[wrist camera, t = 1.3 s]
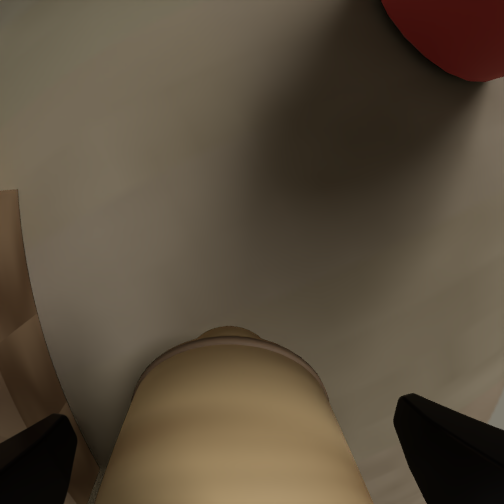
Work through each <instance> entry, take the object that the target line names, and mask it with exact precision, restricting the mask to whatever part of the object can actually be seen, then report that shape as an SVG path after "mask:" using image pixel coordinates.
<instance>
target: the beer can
mask: <svg viewBox="0 0 504 504" xmlns="http://www.w3.org/2000/svg"><path fill="white" fill-rule="evenodd" d="M381 2H382V4H383V6H384V8H385V10H386V12H387V14H388V16H389V17H390V19H391V20H392V21H393V23H394V24H395V25H396V27H397V28H398V29H399V31H400V32H401V33H402V35H403V36H404V37H405V38H406V39H407V40H408V41H409V42H410V43H411V44H412V45H413V46H414V47H415V48H416V49H417V50H418V51H419V52H420V53H421V54H422V55H423V56H424V57H426V58H427V59H429V60H430V61H431V62H433V63H434V64H436V65H437V66H439V67H440V68H441V69H443V70H444V71H446V72H447V73H450V74H452V75H455V76H457V77H459V78H462V79H464V80H467V81H478V82H486V81H490V80H493V79H496V78H500V77H503V76H504V0H381Z"/></svg>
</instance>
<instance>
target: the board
mask: <svg viewBox="0 0 504 504" xmlns="http://www.w3.org/2000/svg"><path fill="white" fill-rule="evenodd" d="M53 413H58V414H64V415H66V416H67V417H68V418H69V420H70V422H71V424H72V427H73V429H74V431H75V433H76V435H77V439H78V443H77V448H76V453H75V458H74V463H73V469H72V474H71V480H70V484H69V488H68V492H67V495H66V499H65V502H64V504H87V503H88V500H89V497H90V495H91V492H92V489H93V486H94V484H95V481H96V478H97V475H98V473H99V470H100V468H99V466H98V465H97V463H96V461H95V459H94V457H93V455H92V454H91V452H90V450H89V448H88V446H87V444H86V442H85V440H84V438H83V436H82V434H81V432H80V430H79V428H78V425H77V423H76V421H75V419H74V417H73V414H72V412H71V410H70V408H69V405H68V403H67V400H66V398H65V396H64V393H63V391H62V388H61V386H60V383H59V380H58V378H57V375H56V372H55V369H54V367H53V364H52V361H51V358H50V355H49V352H48V349H47V345H46V342H45V339H44V336H43V332H42V329H41V325H40V322H39V318H38V314H37V310H36V306H35V302H34V298H33V294H32V289H31V284H30V280H29V275H28V269H27V264H26V258H25V252H24V246H23V239H22V231H21V223H20V213H19V202H18V189H17V190H5V191H0V443H2V442H3V441H5V440H7V439H9V438H11V437H12V436H14V435H16V434H18V433H19V432H21V431H23V430H25V429H26V428H28V427H30V426H32V425H33V424H35V423H37V422H39V421H40V420H42V419H44V418H46V417H47V416H49V415H51V414H53Z"/></svg>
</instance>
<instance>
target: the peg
mask: <svg viewBox="0 0 504 504" xmlns="http://www.w3.org/2000/svg"><path fill="white" fill-rule="evenodd" d="M94 504H373V501H372V499H371V497H370V494H369V492H368V490H367V488H366V485H365V483H364V481H363V478H362V476H361V474H360V472H359V469H358V467H357V465H356V462H355V460H354V458H353V456H352V453H351V451H350V449H349V447H348V444H347V442H346V440H345V438H344V435H343V433H342V431H341V428H340V426H339V424H338V422H337V419H336V417H335V415H334V413H333V410H332V408H331V406H330V404H329V398H328V395H327V393H326V390H325V387H324V385H323V383H322V381H321V380H320V378H319V376H318V374H317V373H316V372H315V371H314V369H313V368H312V367H311V366H310V365H309V364H308V363H307V362H306V361H304V360H303V359H302V358H301V357H299V356H298V355H296V354H295V353H293V352H292V351H290V350H288V349H286V348H284V347H282V346H280V345H278V344H276V343H273V342H270V341H267V340H264V339H261V338H260V337H259V336H258V335H256V334H255V333H253V332H251V331H249V330H247V329H244V328H240V327H234V326H224V327H218V328H214V329H211V330H209V331H207V332H205V333H204V334H202V335H201V336H200V337H198V338H197V339H194V340H191V341H188V342H185V343H182V344H180V345H178V346H176V347H174V348H172V349H170V350H168V351H166V352H165V353H164V354H162V355H161V356H159V357H158V358H156V359H155V360H154V361H153V362H152V363H151V364H150V365H149V366H148V367H147V368H146V370H145V371H144V372H143V374H142V375H141V377H140V379H139V381H138V383H137V385H136V387H135V390H134V393H133V396H132V400H131V405H130V408H129V410H128V413H127V415H126V418H125V420H124V423H123V426H122V428H121V431H120V433H119V436H118V439H117V441H116V444H115V447H114V449H113V452H112V455H111V457H110V460H109V463H108V466H107V468H106V471H105V474H104V477H103V480H102V482H101V485H100V488H99V491H98V494H97V497H96V500H95V503H94Z"/></svg>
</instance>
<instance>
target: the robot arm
mask: <svg viewBox="0 0 504 504" xmlns="http://www.w3.org/2000/svg"><path fill="white" fill-rule="evenodd" d="M393 423H394V427H395V430H396V433H397V435H398V438H399V441H400V444H401V446H402V449H403V452H404V455H405V458H406V461H407V463H408V466H409V468H410V470H411V472H412V474H413V476H414V478H415V481H416V483H417V485H418V487H419V489H420V491H421V493H422V495H423V497H424V499H425V501H426V503H427V504H504V430H502V429H499V428H496V427H493V426H491V425H489V424H486V423H484V422H481V421H478V420H476V419H473V418H471V417H469V416H466V415H464V414H461V413H459V412H456V411H454V410H452V409H449V408H447V407H444V406H442V405H440V404H437V403H435V402H433V401H430V400H428V399H426V398H424V397H421V396H419V395H417V394H414V393H411V394H407V395H403V396H401V397H400V398H399V399H398V403H397V407H396V410H395V414H394V419H393ZM77 443H78V439H77V435H76V433H75V431H74V429H73V427H72V424H71V422H70V420H69V418H68V417H67V416H66V415H64V414H58V413H53V414H51V415H49V416H47V417H46V418H44V419H42V420H40V421H39V422H37V423H35V424H33V425H32V426H30V427H28V428H26V429H25V430H23V431H21V432H19V433H18V434H16V435H14V436H12V437H11V438H9V439H7V440H5V441H3V442H2V443H0V504H64V502H65V499H66V495H67V492H68V488H69V484H70V480H71V474H72V469H73V463H74V458H75V453H76V448H77Z"/></svg>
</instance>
